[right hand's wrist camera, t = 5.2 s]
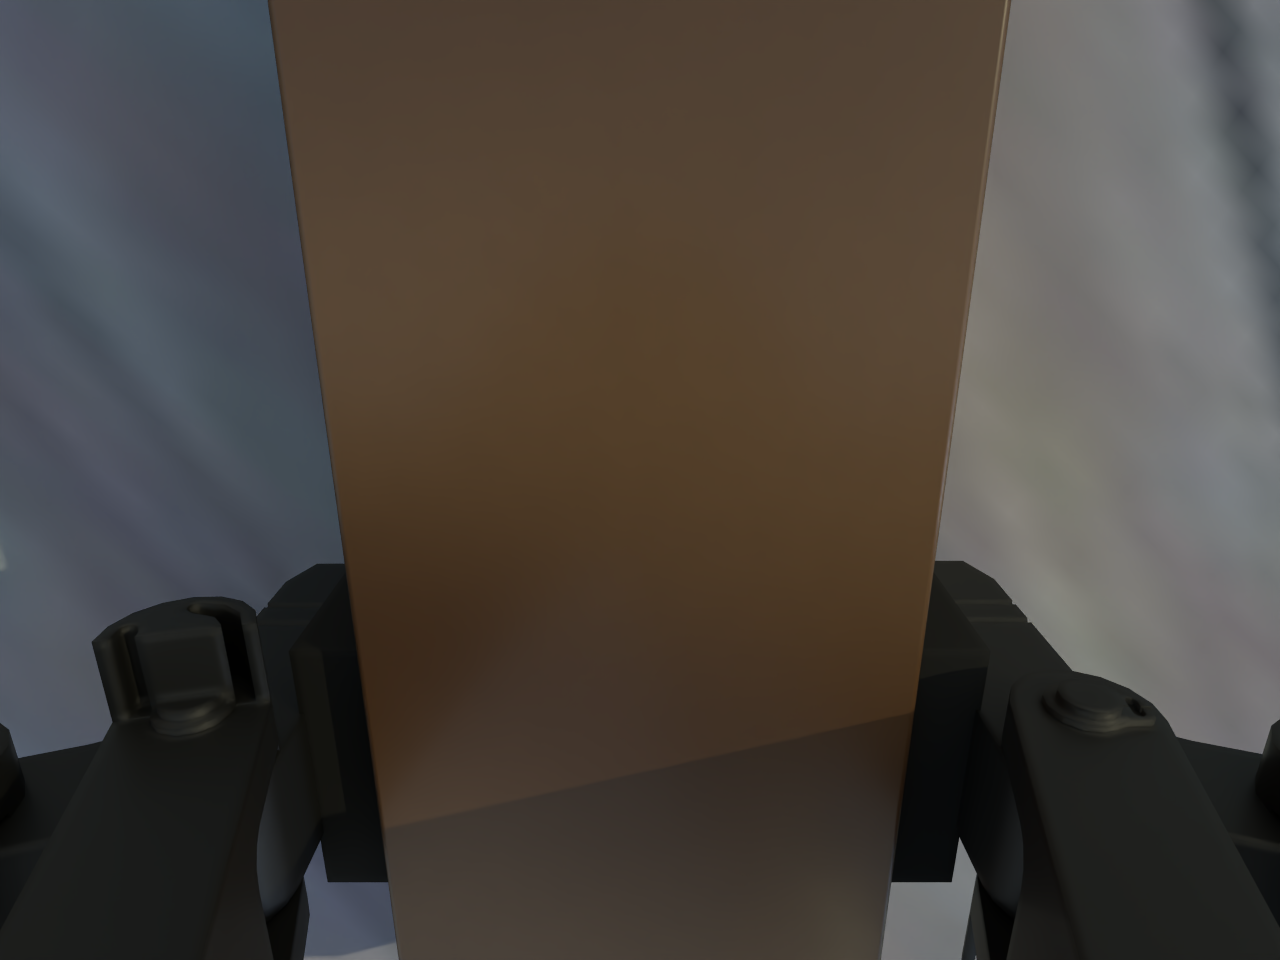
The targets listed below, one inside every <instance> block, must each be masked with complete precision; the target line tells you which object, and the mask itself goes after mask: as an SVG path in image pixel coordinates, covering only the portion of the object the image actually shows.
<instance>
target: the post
mask: <svg viewBox="0 0 1280 960" xmlns="http://www.w3.org/2000/svg"><path fill="white" fill-rule="evenodd" d="M1010 6H1011V0H268V7H269V14H270V21H271V28H272V36H273V43H274V50H275V58H276V65H277V72H278V80H279V87H280V94H281V102H282V109H283V116H284V123H285V131H286V138H287V145H288V153H289V160H290V167H291V175H292V182H293V189H294V197H295V204H296V211H297V219H298V226H299V233H300V240H301V248H302V255H303V262H304V270H305V277H306V284H307V292H308V299H309V306H310V314H311V321H312V328H313V335H314V343H315V350H316V357H317V365H318V372H319V379H320V387H321V394H322V401H323V409H324V416H325V423H326V430H327V438H328V445H329V452H330V460H331V467H332V474H333V482H334V489H335V496H336V504H337V511H338V518H339V526H340V533H341V540H342V547H343V555H344V562H345V569H346V577H347V584H348V591H349V599H350V606H351V613H352V621H353V628H354V635H355V642H356V650H357V657H358V664H359V672H360V679H361V686H362V694H363V701H364V708H365V716H366V723H367V730H368V737H369V745H370V752H371V759H372V767H373V774H374V781H375V789H376V796H377V803H378V811H379V818H380V825H381V833H382V840H383V847H384V854H385V862H386V869H387V876H388V884H389V891H390V898H391V906H392V913H393V920H394V928H395V935H396V942H397V949H398V957H399V960H881V953H882V946H883V939H884V931H885V924H886V916H887V909H888V902H889V894H890V887H891V880H892V872H893V865H894V858H895V850H896V843H897V836H898V828H899V821H900V814H901V806H902V799H903V792H904V784H905V777H906V770H907V762H908V755H909V748H910V740H911V733H912V726H913V718H914V711H915V703H916V696H917V689H918V681H919V674H920V667H921V659H922V652H923V645H924V637H925V630H926V623H927V615H928V608H929V601H930V593H931V586H932V579H933V571H934V564H935V557H936V549H937V542H938V535H939V527H940V520H941V512H942V505H943V498H944V490H945V483H946V476H947V468H948V461H949V454H950V446H951V439H952V432H953V424H954V417H955V410H956V402H957V395H958V388H959V380H960V373H961V366H962V358H963V351H964V344H965V336H966V329H967V321H968V314H969V307H970V299H971V292H972V285H973V277H974V270H975V263H976V255H977V248H978V241H979V233H980V226H981V219H982V211H983V204H984V197H985V189H986V182H987V175H988V167H989V160H990V153H991V145H992V138H993V130H994V123H995V116H996V108H997V101H998V94H999V86H1000V79H1001V72H1002V64H1003V57H1004V50H1005V42H1006V35H1007V28H1008V20H1009V13H1010Z"/></svg>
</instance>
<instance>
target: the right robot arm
mask: <svg viewBox="0 0 1280 960" xmlns="http://www.w3.org/2000/svg"><path fill="white" fill-rule="evenodd" d="M92 645H93V649H94V653H95V657H96V661H97V664H98V668H99V672H100V676H101V680H102V683H103V687H104V691H105V695H106V699H107V702H108V706H109V710H110V714H111V718H112V721H113V723H112V724H111V726H110V728H109V730H108V732H107V734H106V736H105V737H104V739H103V741H101V742H97V743H93V744H89V745H84V746H79V747H74V748H69V749H64V750H58V751H53V752H48V753H43V754H38V755H32V756H27V757H22V758H18V757H17V754H16V750H15V747H14V744H13V741H12V738H11V735H10V731H9V729H7V728H6V727H5V726H3V725H2V724H1V723H0V960H303V959H304V952H305V945H306V938H307V930H308V923H309V916H310V914H309V906H308V898H307V892H306V887H305V881H304V874H305V872H306V870H307V868H308V865H309V863H310V861H311V859H312V857H313V855H314V853H315V851H316V849H317V846H318V844H319V842H320V840H321V845H322V851H323V857H324V863H325V868H326V874H327V880H328V882H388V876H387V869H386V862H385V854H384V847H383V840H382V833H381V825H380V818H379V811H378V803H377V796H376V789H375V781H374V774H373V767H372V759H371V752H370V745H369V737H368V730H367V723H366V716H365V708H364V701H363V694H362V686H361V679H360V672H359V664H358V657H357V650H356V642H355V635H354V628H353V621H352V613H351V606H350V599H349V591H348V584H347V577H346V569H345V564H316V565H314V566H313V567H311V568H309V569H307V570H306V571H304V572H302V573H301V574H299V575H297V576H295V577H294V578H292V579H290V580H289V581H287V582H286V583H285V584H284V585H283V586H282V587H281V588H280V590H279V591H278V592H277V593H276V594H275V596H274V597H273V598H272V599H271V600H270V601H269V603H268V608H264V609H263V610H262V611H261V612H260V613H259V614H258V616H257V617H256V612H255V610H254V609H253V608H252V607H250V606H249V605H247V604H246V603H245V602H243V601H240V600H235V599H230V598H225V597H193V598H187V599H182V600H176V601H171V602H165V603H161V604H158V605H155V606H153V607H150V608H147V609H144V610H141V611H138V612H135V613H132V614H130V615H129V616H127V617H125V618H123V619H121V620H119V621H118V622H116V623H114V624H112V625H110V626H108V627H107V628H106V629H105V630H104V631H103V632H102V633H101V634H100V635H99V636H98V637H96V638H95V639H94V640H93V641H92ZM959 837H960V839H961V841H962V843H963V845H964V847H965V849H966V852H967V854H968V856H969V858H970V860H971V862H972V864H973V866H974V868H975V871H976V873H977V876H976V881H975V887H974V892H973V898H972V903H971V908H970V914H969V919H968V925H967V930H966V936H965V941H964V947H963V952H962V960H975V956H976V957H977V960H1280V720H1278V721H1277V722H1276V723H1274V724H1273V725H1272V726H1271V729H1270V732H1269V735H1268V739H1267V742H1266V745H1265V748H1264V751H1263V754H1258V753H1253V752H1248V751H1242V750H1237V749H1232V748H1227V747H1221V746H1216V745H1211V744H1206V743H1200V742H1195V741H1191V740H1186V739H1182V738H1178V737H1176V736H1175V734H1174V732H1173V730H1172V728H1171V727H1170V725H1169V723H1168V721H1167V720H1166V719H1165V718H1164V717H1163V715H1162V714H1161V713H1160V712H1159V711H1158V710H1157V708H1156V707H1155V706H1154V705H1153V704H1152V703H1150V702H1149V701H1147V700H1146V699H1144V698H1143V697H1141V696H1140V695H1138V694H1136V693H1135V692H1133V691H1132V690H1130V689H1129V688H1126V687H1124V686H1121V685H1119V684H1116V683H1114V682H1111V681H1109V680H1106V679H1104V678H1101V677H1097V676H1093V675H1088V674H1084V673H1079V672H1074V671H1072V670H1071V669H1070V667H1069V666H1068V665H1067V664H1066V663H1065V662H1064V660H1063V659H1062V658H1061V657H1060V656H1059V655H1058V653H1057V652H1056V651H1055V650H1054V649H1053V648H1052V646H1051V645H1050V644H1049V643H1048V642H1047V641H1046V639H1045V638H1044V637H1043V636H1042V635H1041V634H1040V632H1039V631H1038V630H1037V629H1036V628H1035V627H1034V625H1033V624H1032V623H1028V622H1027V617H1026V616H1025V615H1024V614H1023V612H1022V611H1021V610H1020V609H1019V608H1018V607H1017V605H1012V600H1011V598H1010V597H1009V596H1008V595H1007V594H1006V593H1005V591H1004V590H1003V589H1002V588H1001V587H1000V586H999V584H998V583H997V582H996V581H995V580H994V579H993V578H991V577H990V576H988V575H986V574H984V573H983V572H981V571H979V570H977V569H976V568H974V567H972V566H971V565H969V564H967V563H965V562H964V561H935V564H934V571H933V579H932V586H931V593H930V601H929V608H928V615H927V623H926V630H925V637H924V645H923V652H922V659H921V667H920V674H919V681H918V689H917V696H916V703H915V711H914V718H913V726H912V733H911V740H910V748H909V755H908V762H907V770H906V777H905V784H904V792H903V799H902V806H901V814H900V821H899V828H898V836H897V843H896V850H895V858H894V865H893V872H892V880H891V882H952V877H953V871H954V865H955V859H956V853H957V847H958V842H959Z"/></svg>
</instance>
